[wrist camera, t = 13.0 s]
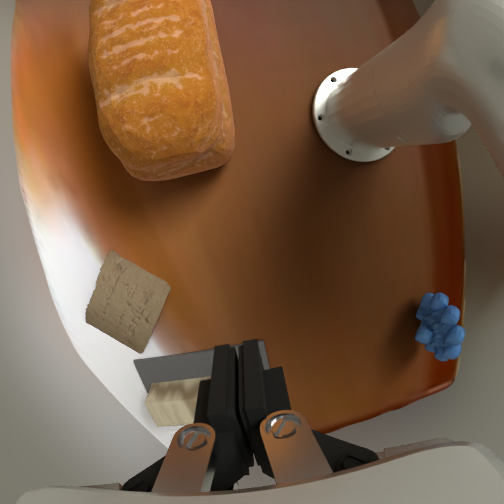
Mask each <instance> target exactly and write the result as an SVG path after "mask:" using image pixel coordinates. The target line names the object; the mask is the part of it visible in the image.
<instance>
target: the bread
mask: <svg viewBox="0 0 504 504" xmlns="http://www.w3.org/2000/svg"><path fill="white" fill-rule="evenodd" d="M89 16H90V34H89V45H88V63H89V71H90V77H91V82H92V85H93V88H94V93H95V99H96V106H97V116H98V124H99V129H100V131H101V134H102V136H103V138H104V140H105V142H106V143H107V145H108V146H109V148H110V149H111V151H112V152H113V153H114V154H115V155H116V156H117V157H118V158H119V159H120V161H121V163H122V165H123V166H124V168H125V169H126V170H127V171H128V172H129V173H130V175H131V176H132V177H134V178H137V179H139V180H142V181H164V180H169V179H175V178H179V177H183V176H187V175H191V174H194V173H198V172H202V171H206V170H210V169H214V168H217V167H220V166H222V165H224V164H225V163H226V162H227V161H228V160H229V159H230V157H231V155H232V153H233V151H234V147H235V127H234V120H233V113H232V106H231V100H230V94H229V88H228V83H227V78H226V73H225V68H224V64H223V59H222V55H221V51H220V46H219V41H218V36H217V31H216V25H215V20H214V14H213V9H212V5H211V1H210V0H92V1H91V3H90V6H89Z"/></svg>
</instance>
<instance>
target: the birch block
mask: <svg viewBox="0 0 504 504" xmlns="http://www.w3.org/2000/svg"><path fill="white" fill-rule="evenodd" d="M207 379H211V376H208V377H201V378H194V379H186V380H178V381H169V382H159V383H152V385H151V387H150V390H149V393H148V396H147V399H146V402H145V404H146V406H147V408H148V410H149V412H150V414H151V416H152V418H153V420H154V422H155V423H156V425H157V426H171V425H184V424H192V423H193V422H194V416H195V409H196V402H197V396H198V389H199V383H200V381H201V380H207Z"/></svg>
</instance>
